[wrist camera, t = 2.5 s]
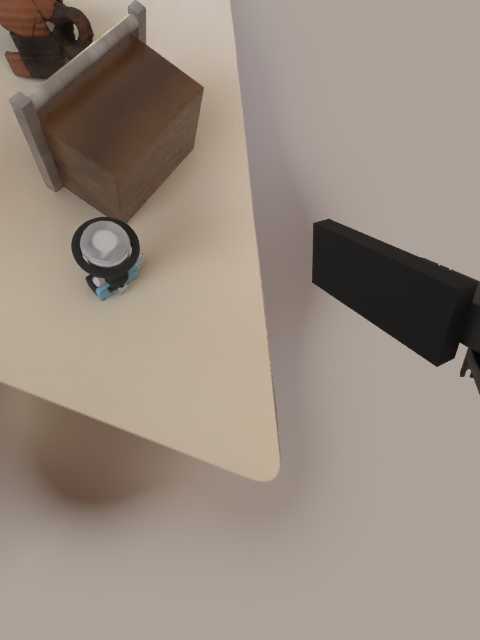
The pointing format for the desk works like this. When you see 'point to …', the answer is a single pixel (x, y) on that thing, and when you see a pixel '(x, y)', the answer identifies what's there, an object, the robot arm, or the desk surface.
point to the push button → (107, 255)
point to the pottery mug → (43, 35)
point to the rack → (112, 120)
